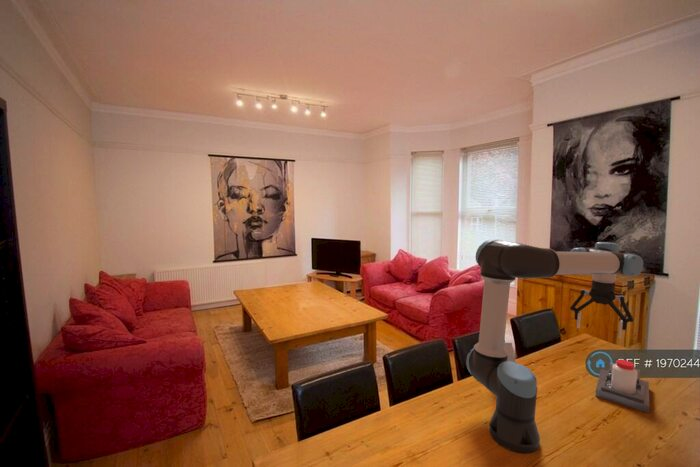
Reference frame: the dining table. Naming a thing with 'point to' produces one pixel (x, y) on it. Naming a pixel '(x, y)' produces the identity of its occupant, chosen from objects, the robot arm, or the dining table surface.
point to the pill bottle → (624, 377)
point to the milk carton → (510, 351)
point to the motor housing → (630, 400)
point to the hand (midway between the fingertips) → (598, 332)
